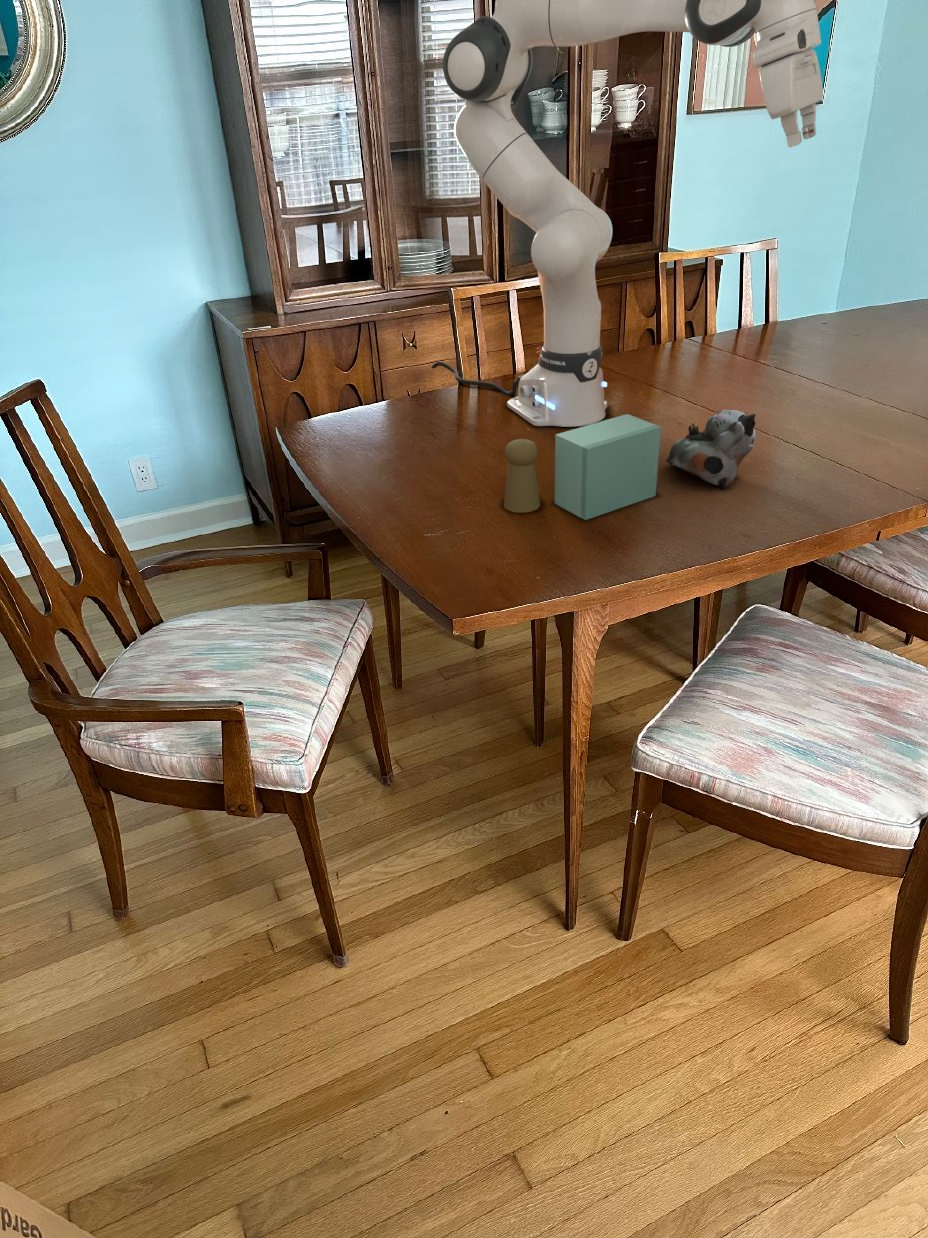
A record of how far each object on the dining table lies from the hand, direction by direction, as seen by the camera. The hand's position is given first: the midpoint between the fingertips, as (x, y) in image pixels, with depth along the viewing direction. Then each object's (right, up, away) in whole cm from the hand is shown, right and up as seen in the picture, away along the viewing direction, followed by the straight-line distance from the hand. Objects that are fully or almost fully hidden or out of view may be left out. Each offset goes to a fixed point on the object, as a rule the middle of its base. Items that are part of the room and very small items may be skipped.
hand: (802, 141), depth 136 cm
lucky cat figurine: (-12, -51, +13) cm, 54 cm away
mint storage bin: (-30, -56, +6) cm, 64 cm away
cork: (-44, -57, +6) cm, 73 cm away
